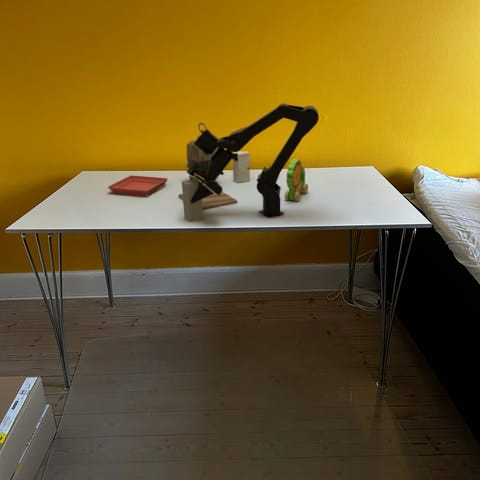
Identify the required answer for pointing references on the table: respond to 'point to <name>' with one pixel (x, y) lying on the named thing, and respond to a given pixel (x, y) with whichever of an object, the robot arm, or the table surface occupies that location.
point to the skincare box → (241, 167)
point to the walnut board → (215, 200)
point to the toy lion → (295, 180)
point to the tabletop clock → (198, 150)
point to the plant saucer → (138, 185)
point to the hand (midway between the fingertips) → (188, 200)
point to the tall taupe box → (190, 210)
